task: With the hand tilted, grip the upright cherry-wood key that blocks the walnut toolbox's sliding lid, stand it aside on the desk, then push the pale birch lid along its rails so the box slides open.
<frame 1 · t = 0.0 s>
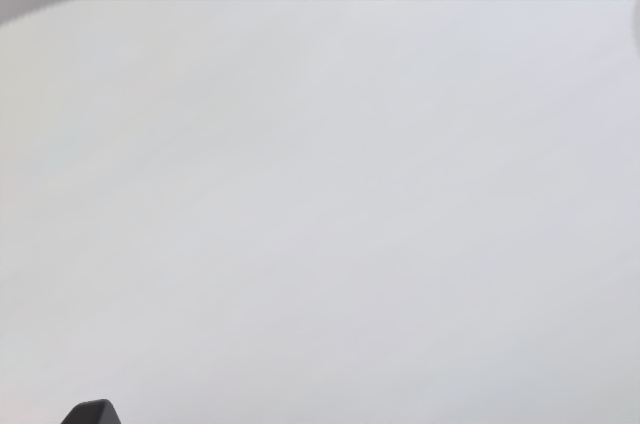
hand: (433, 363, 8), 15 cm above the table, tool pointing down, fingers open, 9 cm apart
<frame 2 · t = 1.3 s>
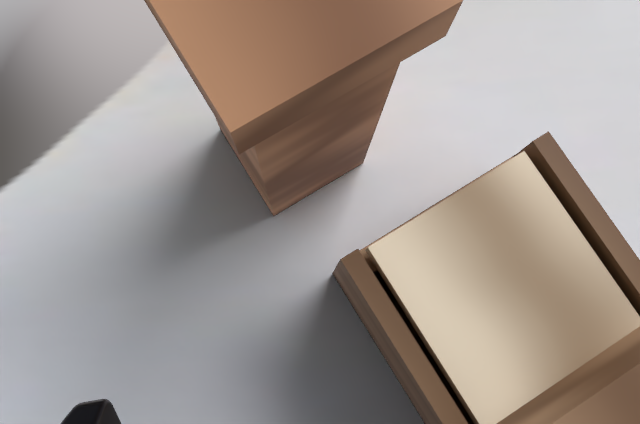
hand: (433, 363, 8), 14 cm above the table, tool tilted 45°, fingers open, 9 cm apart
wooden key: (291, 146, 23), on the table
toolbox: (522, 384, 21), on the table
lid: (596, 404, 16), point 5 cm above the table, slide at 0.0 cm
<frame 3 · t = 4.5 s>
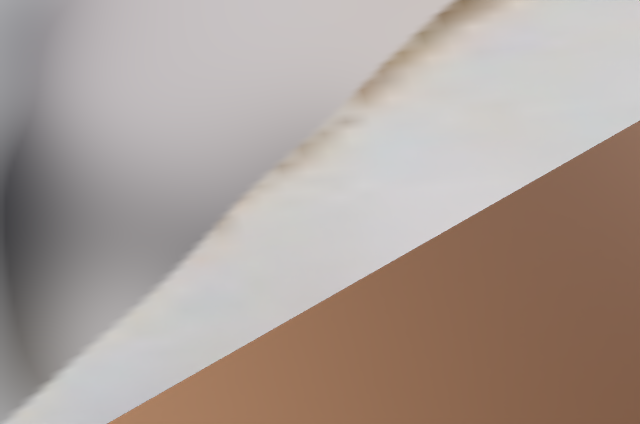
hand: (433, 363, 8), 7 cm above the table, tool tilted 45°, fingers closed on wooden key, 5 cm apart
wooden key: (395, 414, 14), on the table, touching gripper
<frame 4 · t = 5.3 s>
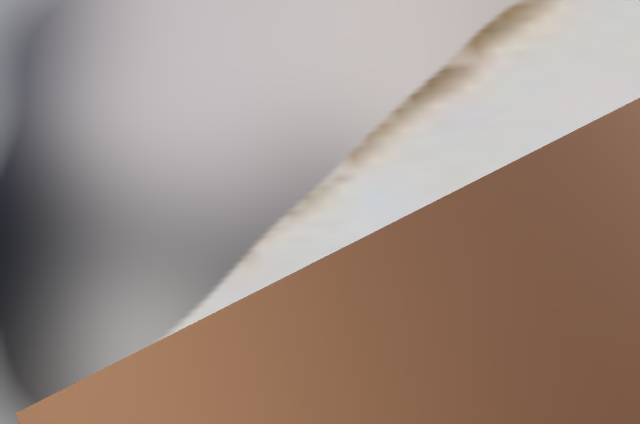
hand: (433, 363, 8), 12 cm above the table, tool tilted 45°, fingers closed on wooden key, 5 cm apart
wooden key: (422, 403, 15), point 5 cm above the table, touching gripper
when the fingers open (8 cm above the table, at t = 7.5 s): wooden key stays where it is, on the table.
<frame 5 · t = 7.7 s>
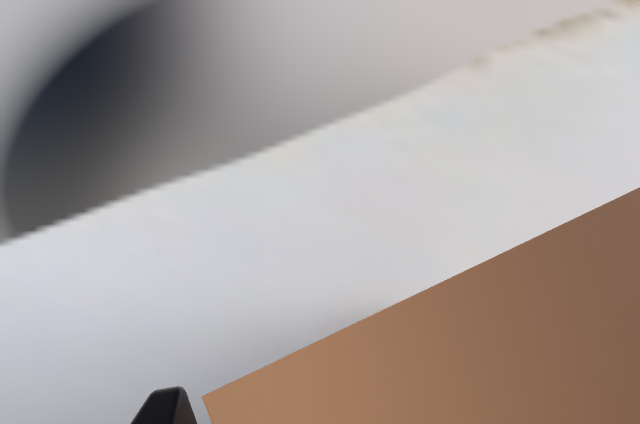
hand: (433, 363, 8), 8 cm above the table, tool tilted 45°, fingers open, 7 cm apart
wooden key: (414, 405, 16), on the table
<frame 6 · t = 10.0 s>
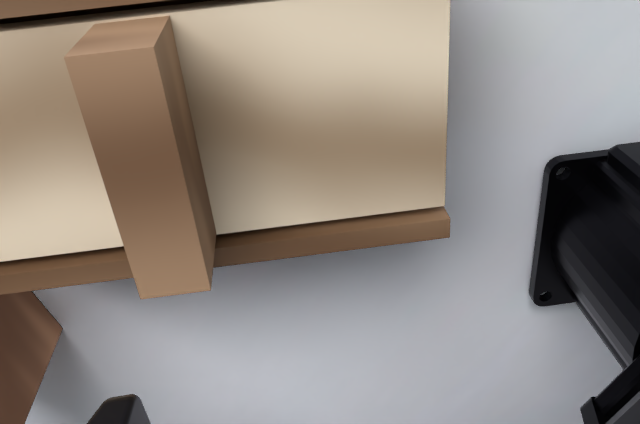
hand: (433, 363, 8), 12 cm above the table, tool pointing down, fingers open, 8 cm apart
toolbox: (182, 76, 18), on the table
lid: (157, 154, 13), point 5 cm above the table, slide at 0.0 cm
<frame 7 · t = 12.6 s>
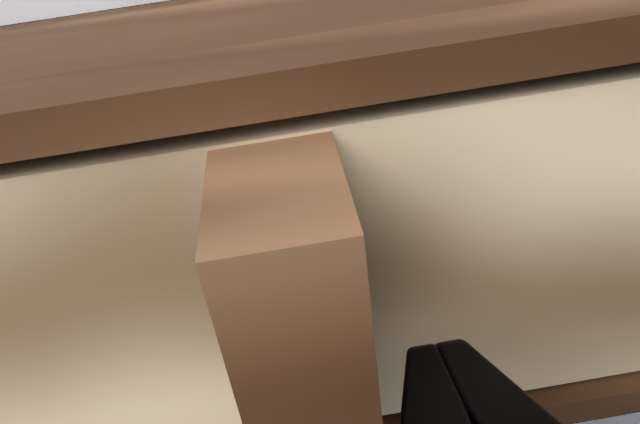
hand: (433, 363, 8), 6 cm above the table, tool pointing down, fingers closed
toolbox: (351, 154, 13), on the table
lid: (304, 342, 8), point 5 cm above the table, slide at 1.5 cm, touching gripper
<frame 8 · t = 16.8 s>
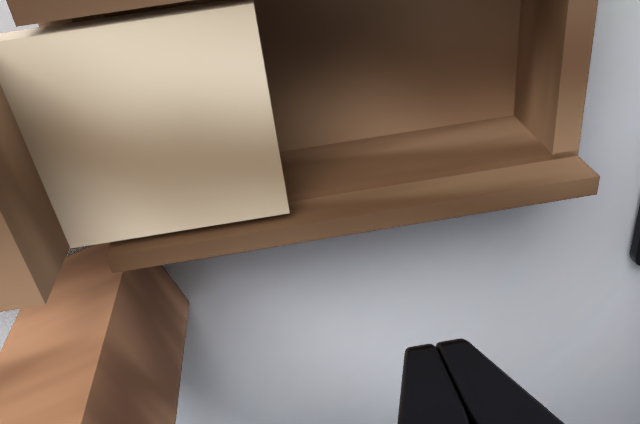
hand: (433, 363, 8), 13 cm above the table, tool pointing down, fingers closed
wooden key: (117, 285, 23), on the table
toolbox: (322, 52, 19), on the table
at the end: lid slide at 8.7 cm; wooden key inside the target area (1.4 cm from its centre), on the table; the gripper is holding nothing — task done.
